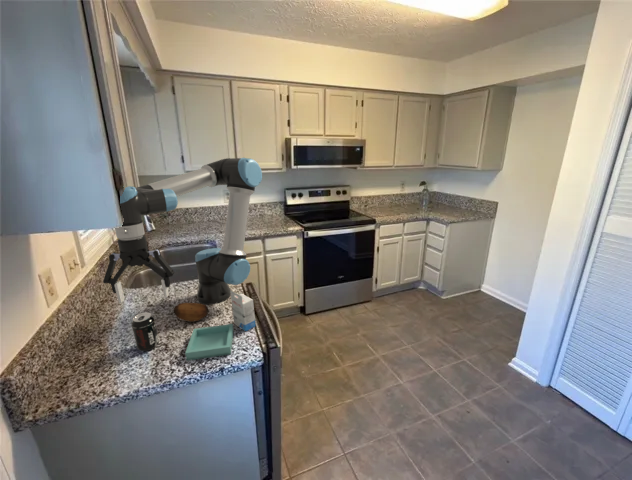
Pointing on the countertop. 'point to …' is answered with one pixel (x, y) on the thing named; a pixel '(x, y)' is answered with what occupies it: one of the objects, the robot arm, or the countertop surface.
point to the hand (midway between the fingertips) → (144, 298)
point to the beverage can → (145, 331)
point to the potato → (191, 311)
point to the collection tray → (210, 342)
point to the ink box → (243, 311)
